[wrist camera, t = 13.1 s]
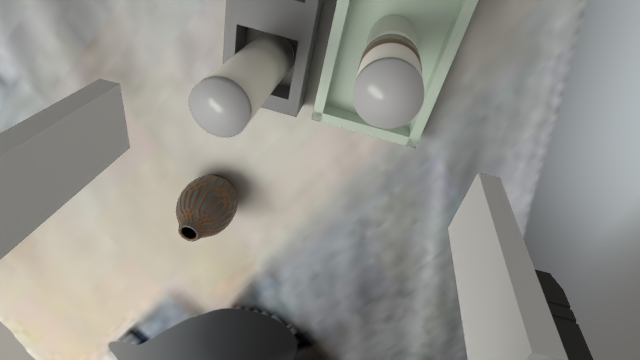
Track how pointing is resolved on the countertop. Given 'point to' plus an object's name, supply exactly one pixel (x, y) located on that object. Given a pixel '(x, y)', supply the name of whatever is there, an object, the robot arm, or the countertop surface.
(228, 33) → the fuse block
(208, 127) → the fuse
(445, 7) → the tray
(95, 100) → the robot arm
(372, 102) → the cylinder
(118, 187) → the countertop surface
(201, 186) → the vase
